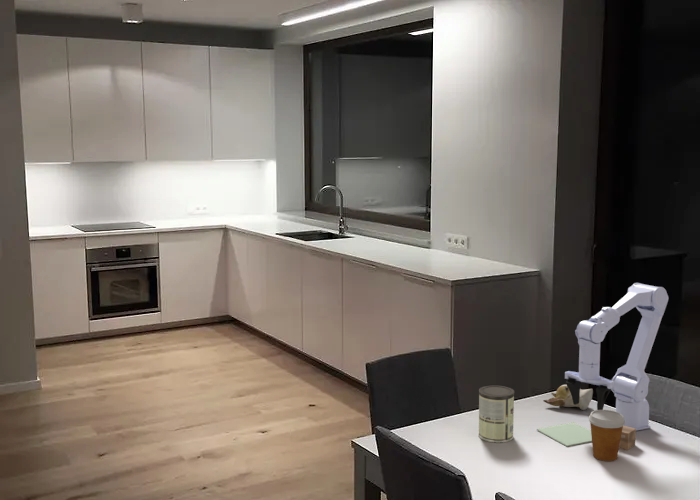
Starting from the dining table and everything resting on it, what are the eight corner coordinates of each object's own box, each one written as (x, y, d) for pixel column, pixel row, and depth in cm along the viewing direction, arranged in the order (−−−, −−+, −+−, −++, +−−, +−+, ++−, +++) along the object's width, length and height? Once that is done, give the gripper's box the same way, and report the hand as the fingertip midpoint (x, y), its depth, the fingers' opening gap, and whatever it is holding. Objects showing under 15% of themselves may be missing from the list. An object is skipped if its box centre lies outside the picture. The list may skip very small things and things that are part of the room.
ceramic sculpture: (588, 388, 242) (542, 384, 250) (589, 415, 243) (542, 409, 250) (596, 380, 251) (551, 376, 259) (597, 405, 252) (552, 400, 259)
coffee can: (476, 429, 231) (477, 384, 229) (511, 430, 230) (512, 385, 228) (479, 442, 221) (480, 395, 219) (515, 443, 220) (516, 396, 218)
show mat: (573, 423, 236) (573, 422, 236) (605, 439, 223) (605, 437, 223) (536, 430, 230) (536, 429, 230) (566, 446, 218) (566, 445, 217)
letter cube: (618, 440, 222) (618, 424, 221) (635, 445, 218) (635, 428, 218) (610, 446, 218) (611, 429, 217) (627, 450, 215) (628, 433, 214)
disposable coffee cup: (616, 466, 204) (618, 423, 202) (582, 458, 209) (583, 416, 208) (628, 455, 211) (630, 413, 210) (594, 447, 217) (595, 406, 215)
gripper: (559, 359, 224) (558, 404, 225) (606, 369, 213) (604, 416, 215) (572, 355, 228) (571, 398, 230) (618, 364, 218) (616, 410, 220)
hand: (588, 406), depth 223 cm, fingers open, 7 cm apart
